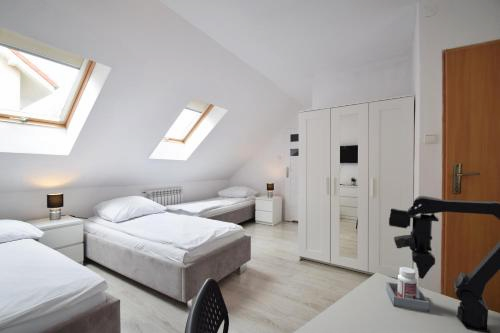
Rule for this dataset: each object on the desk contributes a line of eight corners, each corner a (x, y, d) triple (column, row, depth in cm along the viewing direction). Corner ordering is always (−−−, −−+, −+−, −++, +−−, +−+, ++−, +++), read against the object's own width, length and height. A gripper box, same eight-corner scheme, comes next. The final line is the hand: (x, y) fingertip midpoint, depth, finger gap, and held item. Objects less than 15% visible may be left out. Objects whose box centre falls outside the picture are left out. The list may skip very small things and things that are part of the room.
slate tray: (417, 294, 97) (417, 286, 97) (428, 312, 87) (429, 302, 86) (386, 290, 100) (386, 281, 100) (393, 306, 90) (393, 296, 90)
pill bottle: (419, 299, 92) (420, 271, 92) (411, 305, 89) (412, 275, 89) (401, 292, 98) (402, 264, 97) (394, 297, 94) (395, 268, 94)
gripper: (395, 221, 100) (393, 258, 101) (396, 234, 84) (394, 278, 85) (428, 226, 94) (426, 265, 95) (436, 240, 78) (434, 287, 79)
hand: (419, 272), depth 89 cm, fingers open, 9 cm apart
